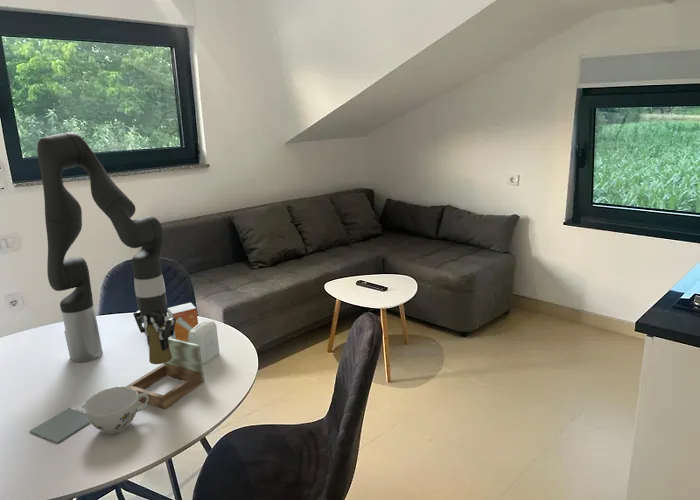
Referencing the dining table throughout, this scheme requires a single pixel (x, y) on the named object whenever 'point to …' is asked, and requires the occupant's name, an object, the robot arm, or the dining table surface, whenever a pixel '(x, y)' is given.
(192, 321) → the small box
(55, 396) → the dining table surface
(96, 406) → the teacup
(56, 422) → the mat
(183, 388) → the cold frame
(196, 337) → the photo printer
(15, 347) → the dining table surface
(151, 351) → the cork
